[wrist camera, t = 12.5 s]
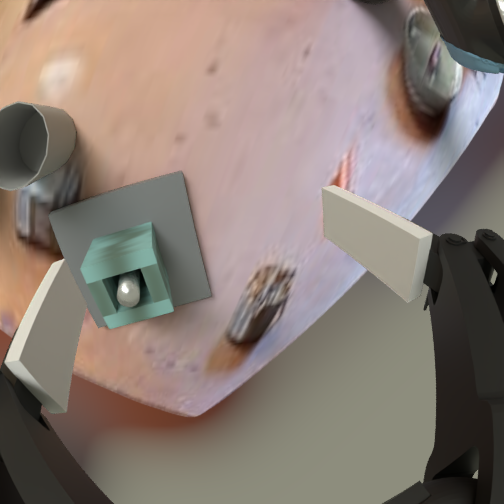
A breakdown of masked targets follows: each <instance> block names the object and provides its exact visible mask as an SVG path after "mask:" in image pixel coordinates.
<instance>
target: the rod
mask: <svg viewBox="0 0 504 504" xmlns="http://www.w3.org/2000/svg"><path fill="white" fill-rule="evenodd" d="M139 299H140V268H139V269H136V270H132V271H129V272H125V273H122V274H120V277H119V284H118V291H117V300H118V302H119V303H120V304H121V305H123V306H125V307H133V306H135V305H136V304H137V303H138V302H139Z"/></svg>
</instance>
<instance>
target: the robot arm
mask: <svg viewBox="0 0 504 504" xmlns="http://www.w3.org/2000/svg"><path fill="white" fill-rule="evenodd" d="M360 1H363V2H366V3H370V4H379V3H383V2H386V1H389V0H360ZM424 2H425V4H426V6H427V8H428V10H429V12H430V13H431V15H432V17H433V19H434V22H435V24H436V26H437V28H438V30H439V32H440V37H441V39H442V40H443V41H444V43H445V45H446V47H447V49H448V51H449V53H450V55H451V57H452V58H453V59H454V60H455V61H456V62H458V63H459V64H460V65H462V66H464V67H466V68H469V69H472V70H476V71H480V72H486V73H494V74H498V73H499V72H500V73H504V0H424ZM322 201H323V222H324V236H325V237H326V238H327V239H329V240H330V241H331V242H333V243H334V244H335V245H337V246H338V247H339V248H340V249H342V250H343V251H344V252H346V253H347V254H348V255H349V256H351V257H352V258H353V259H355V260H356V261H357V262H358V263H360V264H361V265H362V266H363V267H365V268H366V269H367V270H368V271H370V272H371V273H372V274H374V275H375V276H376V277H377V278H379V279H380V280H381V281H382V282H383V283H385V284H386V285H387V286H388V287H390V288H391V289H392V290H393V291H394V292H396V293H397V294H398V295H399V296H400V297H401V298H403V299H404V300H405V301H406V302H407V303H409V302H410V301H412V300H414V299H416V298H418V297H419V296H420V295H421V291H422V287H423V283H424V284H426V285H427V286H429V290H428V294H427V298H426V302H425V305H424V310H426V308H427V306H428V305H429V308H430V315H431V323H432V331H433V341H434V352H435V369H436V429H435V430H436V431H435V443H434V448H433V451H432V454H431V456H430V458H429V461H428V463H427V466H426V470H425V475H424V482H423V483H421V482H420V481H419V482H417V483H415V484H414V485H412V486H411V487H409V488H408V489H406V490H404V491H403V492H401V493H400V494H398V495H396V496H394V497H393V498H391V499H389V500H388V501H386V502H384V503H383V504H504V240H503V239H502V238H501V237H500V236H499V235H498V234H497V233H495V232H493V231H492V230H489V229H479V230H477V231H476V236H475V241H472V242H468V241H467V240H466V239H465V238H463V237H461V236H459V235H456V234H443V235H441V236H440V237H439V236H437V235H435V234H433V233H432V232H430V231H428V230H426V229H424V228H423V227H421V226H418V225H417V224H415V223H413V222H411V221H409V220H407V219H405V218H404V217H401V216H399V215H397V214H395V213H393V212H391V211H389V210H387V209H385V208H383V207H381V206H379V205H376V204H374V203H372V202H370V201H368V200H366V199H364V198H362V197H359V196H357V195H355V194H353V193H351V192H348V191H346V190H344V189H342V188H339V187H337V186H335V185H332V186H328V187H323V188H322ZM494 269H495V270H496V272H497V277H496V281H495V283H494V285H493V284H492V283H491V282H490V281H491V278H492V275H493V271H494ZM86 308H87V303H86V301H85V299H84V297H83V295H82V293H81V291H80V289H79V287H78V285H77V283H76V281H75V279H74V277H73V275H72V273H71V271H70V269H69V266H68V264H67V262H66V260H65V259H63V260H60V261H57V262H54V263H53V264H52V265H51V267H50V269H49V270H48V272H47V274H46V275H45V277H44V279H43V281H42V283H41V284H40V286H39V288H38V290H37V292H36V294H35V295H34V297H33V299H32V301H31V303H30V305H29V307H28V309H27V311H26V313H25V315H24V317H23V319H22V321H21V324H20V326H19V327H18V329H17V330H16V331H15V333H14V336H13V338H12V341H11V343H10V345H9V349H8V350H7V352H6V355H5V358H4V360H3V363H2V365H1V368H0V504H114V503H113V502H112V501H111V500H110V499H109V498H108V497H107V496H106V495H105V494H104V493H103V492H102V491H101V490H100V489H99V488H98V486H97V485H96V484H95V483H94V482H93V481H92V480H91V479H90V477H88V475H87V474H86V473H85V471H84V470H83V469H82V468H81V467H80V465H79V464H78V463H77V462H76V460H75V459H74V458H73V456H72V455H71V454H70V452H69V451H68V450H67V448H66V447H65V446H64V444H63V443H62V441H61V440H60V438H59V437H58V435H57V434H56V432H55V431H54V429H53V428H52V426H51V425H50V423H49V422H48V420H47V418H46V417H45V416H44V415H43V414H42V413H41V406H42V405H43V406H44V407H45V408H46V409H47V410H48V411H49V412H50V413H51V414H55V413H65V412H67V405H68V397H69V390H70V384H71V377H72V371H73V366H74V361H75V355H76V350H77V346H78V341H79V337H80V332H81V328H82V324H83V320H84V316H85V312H86ZM477 470H478V479H474V478H472V477H473V475H474V473H475V472H476V471H477Z"/></svg>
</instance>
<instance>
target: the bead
mask: <svg viewBox="0 0 504 504" xmlns="http://www.w3.org/2000/svg"><path fill="white" fill-rule="evenodd" d="M139 268H141V271H142V272H140V299H139V302H138V303H137V304H136V305H135V306H133V307H125V306H123V305H121V304H120V303H119V302H118V300H117V291H118V284H119V277H120V274H122V273H125V272H129V271H132V270H136V269H139ZM80 270H81V272H82V274H83V277H84V279H85V281H86V283H87V285H88V288H89V290H90V292H91V294H92V296H93V298H94V300H95V302H96V304H97V306H98V308H99V310H100V312H101V314H102V316H103V318H104V320H105V322H106V324H107V325H108V327H109V329H112V328H116V327H119V326H123V325H127V324H131V323H134V322H138V321H142V320H145V319H149V318H153V317H156V316H160V315H163V314H167V313H170V312H174V308H173V302H172V297H171V291H170V285H169V278H168V274H167V271H166V268H165V265H164V262H163V259H162V256H161V252H160V249H159V246H158V242H157V239H156V236H155V232H154V229H153V225H152V222H148V223H145V224H142V225H138V226H135V227H131V228H128V229H125V230H121V231H118V232H115V233H112V234H108V235H105V236H102V237H99V238H96V239H93V241H92V243H91V245H90V247H89V250H88V252H87V254H86V256H85V259H84V261H83V263H82V266H81V268H80Z"/></svg>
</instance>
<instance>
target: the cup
mask: <svg viewBox="0 0 504 504" xmlns="http://www.w3.org/2000/svg"><path fill="white" fill-rule="evenodd" d="M76 133H77V132H76V129H75V125H74V122H73V119H72V118H71V117H70V116H69V115H68V114H67V113H66V112H65V111H64V110H63V109H59V108H54V107H50V106H44V105H38V104H32V103H25V102H15V103H13V104H10V105H8V106H5V107H3V108H2V109H1V110H0V188H2V189H5V190H9V191H13V190H16V189H20V188H23V187H26V186H28V185H30V184H31V183H33V182H35V181H37V180H39V179H41V178H43V177H45V176H47V175H48V174H50V173H52V172H54V171H57V170H58V169H59V168H60V167H61V166H62V165H64V164H65V163H66V162H67V161H68V160H69V158H70V156H71V154H72V152H73V150H74V148H75V141H76Z"/></svg>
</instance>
